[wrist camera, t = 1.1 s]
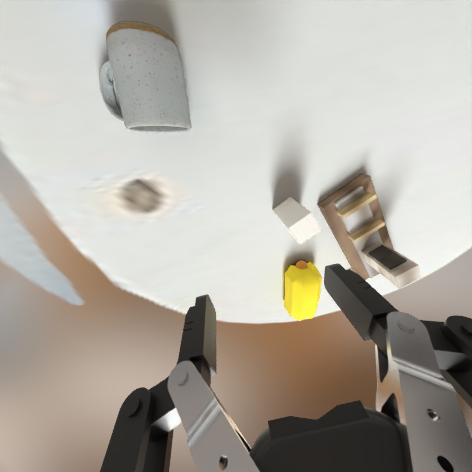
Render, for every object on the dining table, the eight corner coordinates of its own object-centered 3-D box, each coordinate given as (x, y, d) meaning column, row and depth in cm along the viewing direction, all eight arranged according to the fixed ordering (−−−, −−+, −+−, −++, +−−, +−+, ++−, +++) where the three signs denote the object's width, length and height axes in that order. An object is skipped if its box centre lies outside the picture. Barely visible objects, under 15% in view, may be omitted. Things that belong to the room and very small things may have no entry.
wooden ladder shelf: (361, 173, 30) (424, 187, 21) (389, 257, 42) (438, 289, 33) (317, 204, 33) (357, 229, 23) (356, 276, 44) (393, 311, 35)
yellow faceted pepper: (282, 308, 48) (308, 303, 48) (291, 331, 42) (320, 325, 42) (282, 259, 39) (314, 253, 39) (294, 280, 33) (331, 273, 33)
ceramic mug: (184, 53, 20) (167, 10, 14) (195, 131, 25) (186, 127, 18) (94, 55, 20) (32, 11, 13) (121, 135, 24) (83, 132, 17)
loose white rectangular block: (290, 196, 31) (311, 212, 24) (300, 213, 33) (323, 232, 26) (272, 209, 32) (288, 228, 25) (283, 225, 34) (301, 246, 27)
